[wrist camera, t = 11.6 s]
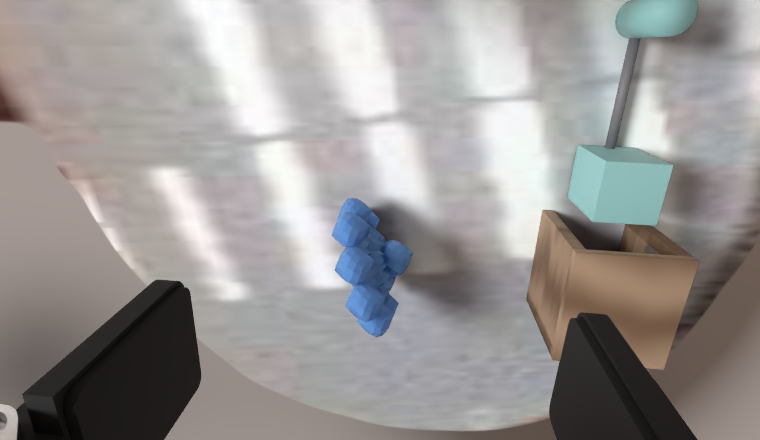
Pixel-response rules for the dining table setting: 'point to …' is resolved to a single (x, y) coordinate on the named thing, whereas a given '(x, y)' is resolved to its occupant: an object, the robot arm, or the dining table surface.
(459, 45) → the dining table surface
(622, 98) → the teal blocks with rod
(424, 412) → the dining table surface
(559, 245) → the open wooden box
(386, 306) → the grapes
